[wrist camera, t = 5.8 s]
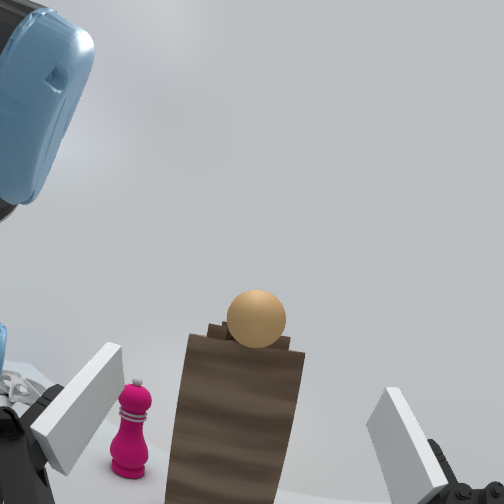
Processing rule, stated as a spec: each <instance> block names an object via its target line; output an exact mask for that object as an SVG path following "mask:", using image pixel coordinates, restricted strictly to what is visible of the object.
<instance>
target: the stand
mask: <svg viewBox="0 0 504 504" xmlns="http://www.w3.org/2000/svg"><path fill="white" fill-rule="evenodd" d="M289 344H290V337H286V336H280V337H279V338H278V339H277V340H276V341H275V342H274V343H272V344H271V345H269V346H266V347H263V348H250V347H247V346H244V345H242V344H240V343H239V342H238V341H236V340H235V339H234V337H233V336H232V335H231V333H230V331H229V329H228V326H227V322H222V326H220V325H214V324H209V326H208V332H207V336H204V335H196V334H189V339H188V344H187V349H186V355H185V360H184V366H183V372H182V378H181V384H180V390H179V396H178V403H177V409H176V415H175V423H174V429H173V437H172V444H171V451H170V459H169V467H168V475H167V484H166V494H165V503H164V504H273V503H274V499H275V495H276V492H277V488H278V484H279V480H280V476H281V472H282V468H283V464H284V460H285V455H286V451H287V446H288V442H289V437H290V433H291V428H292V423H293V419H294V413H295V409H296V404H297V398H298V393H299V387H300V382H301V376H302V371H303V365H304V359H305V353H302V352H297V351H292V350H289Z"/></svg>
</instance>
